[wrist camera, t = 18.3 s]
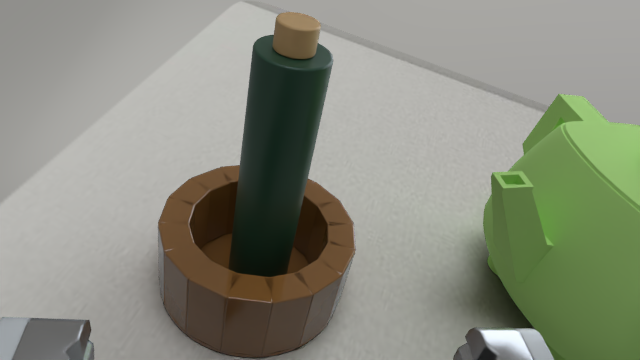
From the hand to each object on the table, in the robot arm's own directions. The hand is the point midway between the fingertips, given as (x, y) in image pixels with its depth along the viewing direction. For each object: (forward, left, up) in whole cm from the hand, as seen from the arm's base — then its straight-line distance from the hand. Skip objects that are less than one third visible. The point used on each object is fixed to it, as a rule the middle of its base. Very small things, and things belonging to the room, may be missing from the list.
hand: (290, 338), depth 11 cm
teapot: (+17, +4, -9) cm, 20 cm away
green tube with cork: (+3, +8, -8) cm, 12 cm away
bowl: (+2, +9, -9) cm, 12 cm away
